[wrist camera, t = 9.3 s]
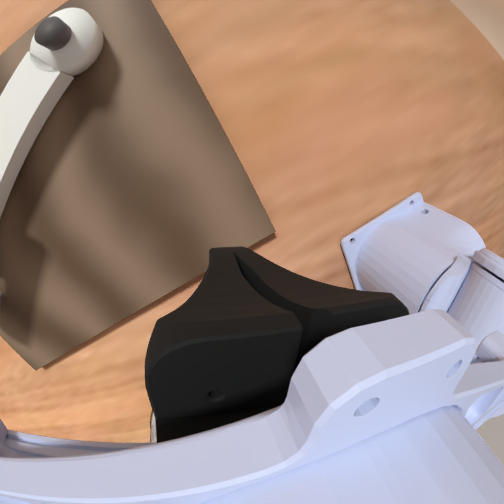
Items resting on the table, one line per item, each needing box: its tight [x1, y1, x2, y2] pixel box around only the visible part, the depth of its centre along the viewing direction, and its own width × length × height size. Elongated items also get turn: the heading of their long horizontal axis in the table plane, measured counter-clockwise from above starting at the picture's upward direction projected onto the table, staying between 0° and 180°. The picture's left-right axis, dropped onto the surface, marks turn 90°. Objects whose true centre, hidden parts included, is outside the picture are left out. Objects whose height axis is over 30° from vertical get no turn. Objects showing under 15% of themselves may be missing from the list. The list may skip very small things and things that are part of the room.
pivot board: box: [0, 0, 276, 370], centre depth 14 cm, size 26×22×6 cm
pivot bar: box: [0, 8, 103, 218], centre depth 12 cm, size 18×4×2 cm, turn 139°
